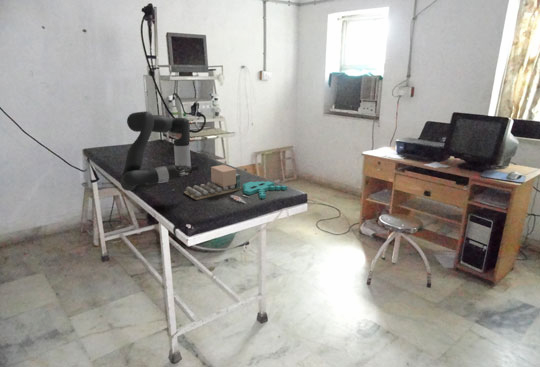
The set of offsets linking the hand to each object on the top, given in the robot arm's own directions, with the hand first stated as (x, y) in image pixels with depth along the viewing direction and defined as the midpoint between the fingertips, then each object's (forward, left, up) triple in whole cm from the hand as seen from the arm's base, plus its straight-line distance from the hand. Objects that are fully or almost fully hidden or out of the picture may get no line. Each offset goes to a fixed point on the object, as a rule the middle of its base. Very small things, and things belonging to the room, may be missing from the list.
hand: (197, 167), depth 185 cm
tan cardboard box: (0, +15, -11) cm, 19 cm away
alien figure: (+13, +30, -15) cm, 36 cm away
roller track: (0, +9, -14) cm, 17 cm away
